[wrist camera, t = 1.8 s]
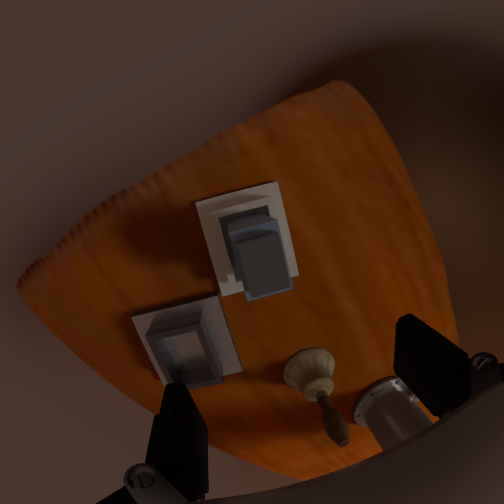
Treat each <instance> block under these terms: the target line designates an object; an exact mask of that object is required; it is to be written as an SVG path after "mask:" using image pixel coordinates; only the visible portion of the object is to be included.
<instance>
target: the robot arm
mask: <svg viewBox="0 0 504 504" xmlns="http://www.w3.org/2000/svg"><path fill="white" fill-rule="evenodd" d="M393 368H394V372H395V374H396V375H397V376H394V377H389V378H386V379H384V380H382V381H380V382H378V383H376V384H375V385H373V386H372V387H371V388H369V389H368V390H367V391H366V392H365V393H364V394H363V395H362V396H361V397H360V399H359V400H358V402H357V403H356V405H355V407H354V410H353V417H354V420H355V421H356V423H357V424H358V425H360V426H365V427H367V426H368V427H369V429H370V430H371V432H372V433H373V435H374V437H375V438H376V440H377V441H378V443H379V445H380V446H381V448H382V450H383V452H381V453H378V454H376V455H374V456H372V457H370V458H367V459H365V460H363V461H360V462H358V463H355V464H353V465H350V466H348V467H345V468H343V469H340V470H337V471H334V472H332V473H329V474H326V475H323V476H320V477H316V478H313V479H310V480H307V481H303V482H300V483H296V484H292V485H289V486H284V487H280V488H276V489H271V490H266V491H261V492H256V493H251V494H245V495H239V496H232V497H225V498H217V499H209V500H205V493H208V491H209V481H208V430H207V426H206V423H205V422H204V420H203V418H202V416H201V414H200V412H199V410H198V408H197V407H196V405H195V403H194V401H193V399H192V397H191V395H190V393H189V391H188V389H187V387H186V385H182V384H181V383H180V382H175V383H168V384H166V386H165V390H164V395H163V400H162V405H161V409H160V414H158V415H155V417H154V420H153V425H152V429H151V434H150V439H149V444H148V449H147V454H146V460H145V463H139V464H136V465H133V466H131V467H130V468H129V469H128V470H127V471H126V472H125V474H124V477H123V482H124V485H125V486H123V487H122V488H121V489H119V490H117V491H116V492H114V493H112V494H111V495H109V496H108V497H106V498H104V499H103V500H101V501H100V502H98V503H96V504H504V363H500V364H499V362H498V359H497V358H496V357H495V355H493V354H491V353H488V352H480V353H477V354H475V355H473V356H472V357H471V359H470V358H468V354H467V353H466V352H464V351H463V350H461V349H460V348H459V347H458V346H456V345H455V344H453V343H452V342H451V341H449V340H448V339H447V338H445V337H444V336H442V335H441V334H440V333H438V332H437V331H435V330H434V329H433V328H431V327H430V326H428V325H427V324H426V323H424V322H423V321H421V320H420V319H418V318H417V317H416V316H414V315H413V314H411V313H409V314H407V315H405V316H402V317H400V318H399V319H398V322H397V323H396V333H395V353H394V366H393ZM418 401H421V402H422V403H423V404H424V406H425V407H426V408H427V409H428V410H429V411H430V412H431V413H432V414H433V415H434V416H438V417H439V418H440V420H438V421H437V422H435V423H434V424H433V422H432V421H431V420H430V419H429V418H428V417H427V416H426V414H425V413H424V412H423V411H422V410H421V409H420V408H419V406H418V405H417V404H416V402H418ZM197 500H201V501H197Z"/></svg>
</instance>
